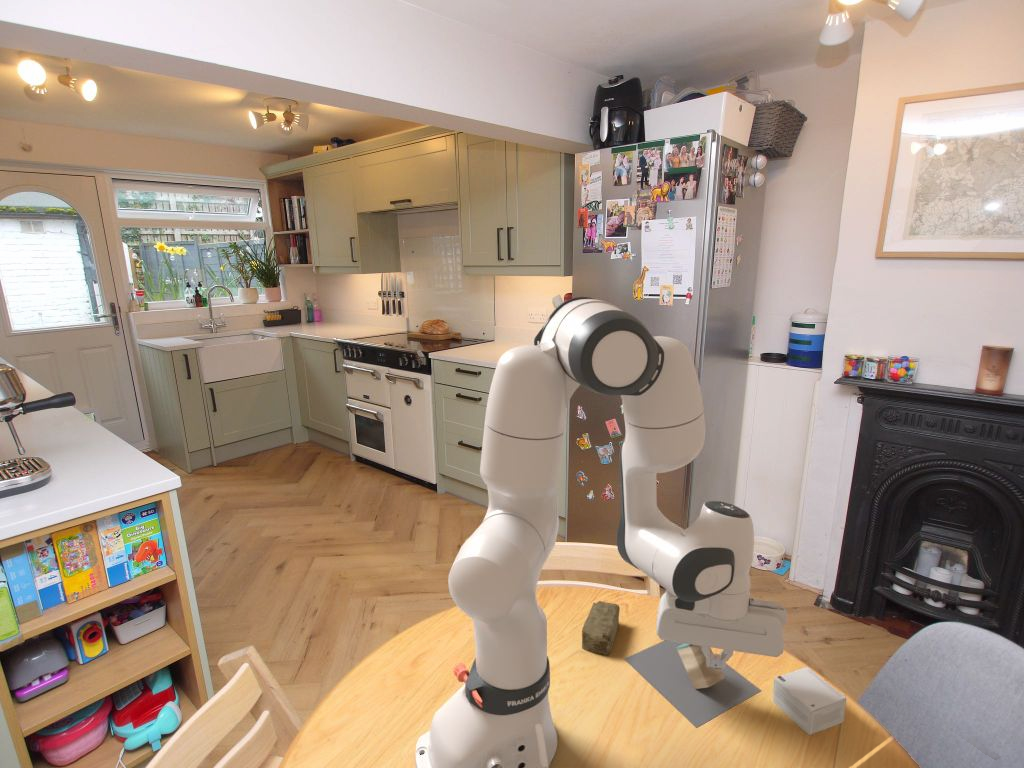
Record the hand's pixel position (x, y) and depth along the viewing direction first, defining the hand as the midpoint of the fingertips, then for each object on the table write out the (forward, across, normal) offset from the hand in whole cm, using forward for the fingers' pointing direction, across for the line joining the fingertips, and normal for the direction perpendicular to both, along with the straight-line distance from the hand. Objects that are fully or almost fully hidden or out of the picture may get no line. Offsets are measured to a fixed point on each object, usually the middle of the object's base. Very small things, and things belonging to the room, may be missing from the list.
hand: (714, 666), depth 92 cm
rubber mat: (+6, +4, -4) cm, 8 cm away
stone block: (+6, +20, -11) cm, 24 cm away
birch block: (+4, 0, -1) cm, 4 cm away
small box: (+6, -15, 0) cm, 16 cm away
